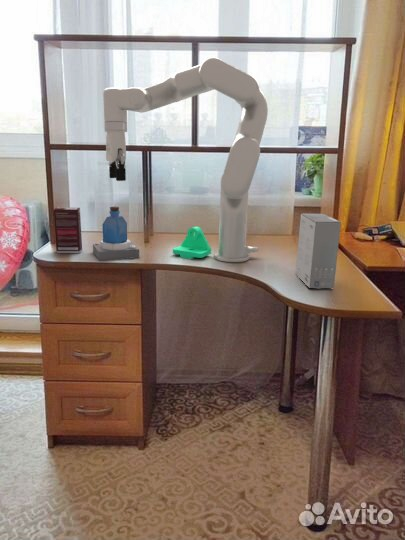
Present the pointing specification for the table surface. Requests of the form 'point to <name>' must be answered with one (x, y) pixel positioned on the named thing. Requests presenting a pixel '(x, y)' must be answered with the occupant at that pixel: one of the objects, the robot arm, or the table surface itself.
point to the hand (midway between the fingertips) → (117, 179)
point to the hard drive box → (317, 250)
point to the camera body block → (115, 250)
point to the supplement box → (67, 230)
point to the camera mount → (193, 245)
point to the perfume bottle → (114, 227)
